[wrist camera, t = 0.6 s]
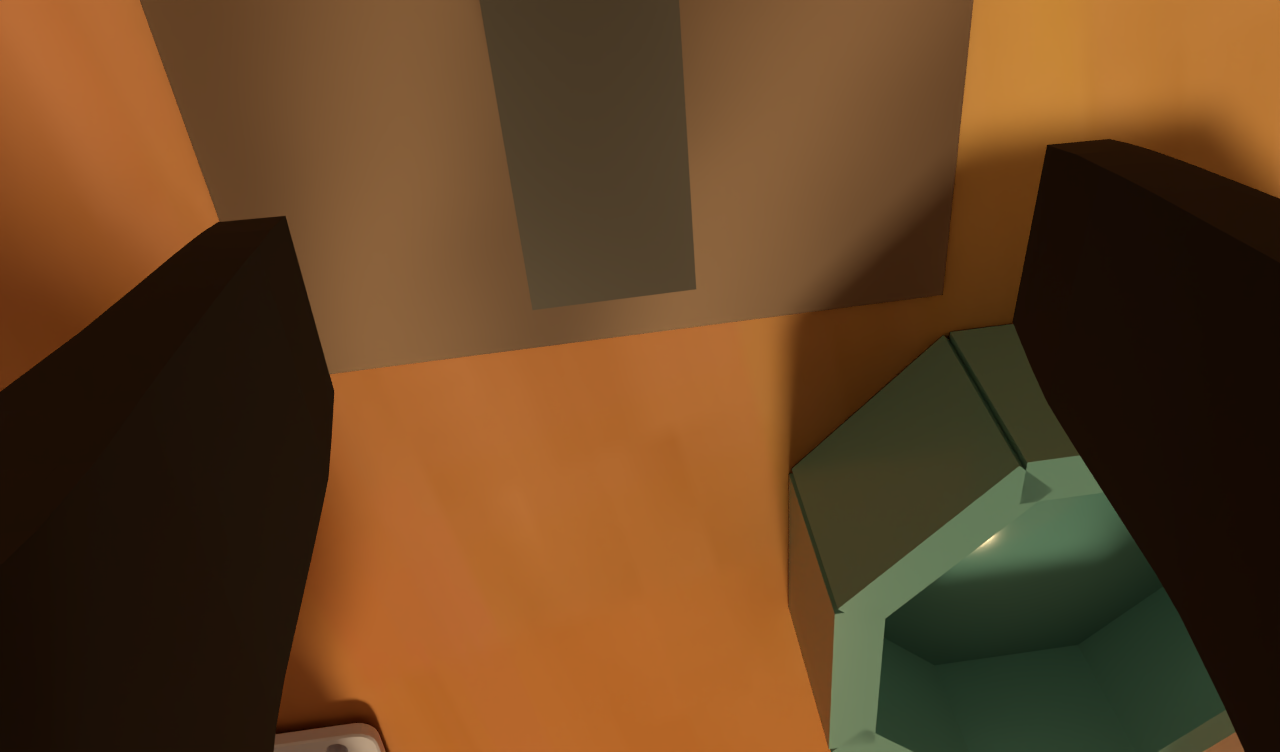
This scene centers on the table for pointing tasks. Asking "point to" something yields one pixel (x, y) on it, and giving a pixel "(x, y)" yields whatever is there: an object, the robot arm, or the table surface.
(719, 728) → the table surface
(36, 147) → the table surface
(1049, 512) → the bowl
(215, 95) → the lid
